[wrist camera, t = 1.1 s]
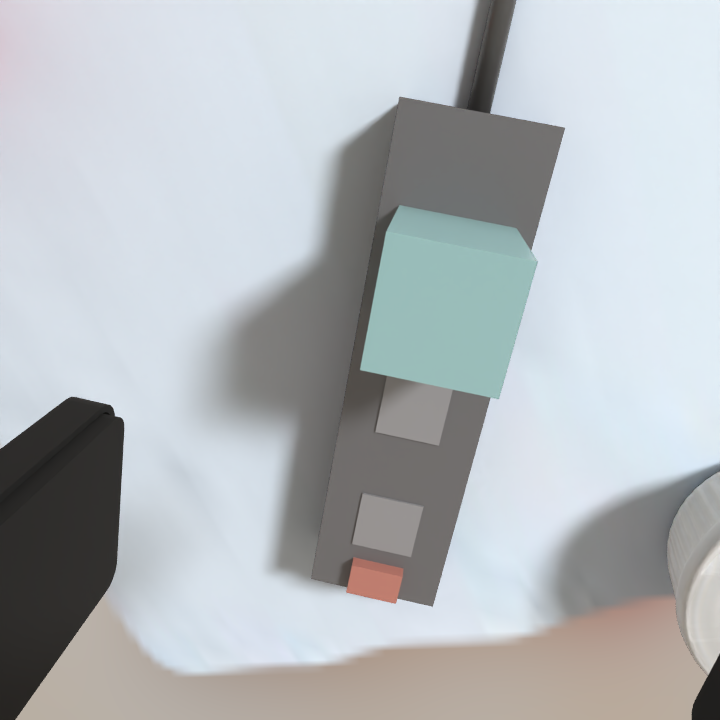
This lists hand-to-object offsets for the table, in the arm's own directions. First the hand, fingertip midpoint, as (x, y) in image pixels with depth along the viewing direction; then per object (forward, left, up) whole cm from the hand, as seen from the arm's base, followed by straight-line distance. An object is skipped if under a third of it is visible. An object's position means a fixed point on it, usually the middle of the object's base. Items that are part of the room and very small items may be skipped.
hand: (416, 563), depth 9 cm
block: (0, 0, -19) cm, 19 cm away
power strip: (0, 0, -20) cm, 20 cm away
